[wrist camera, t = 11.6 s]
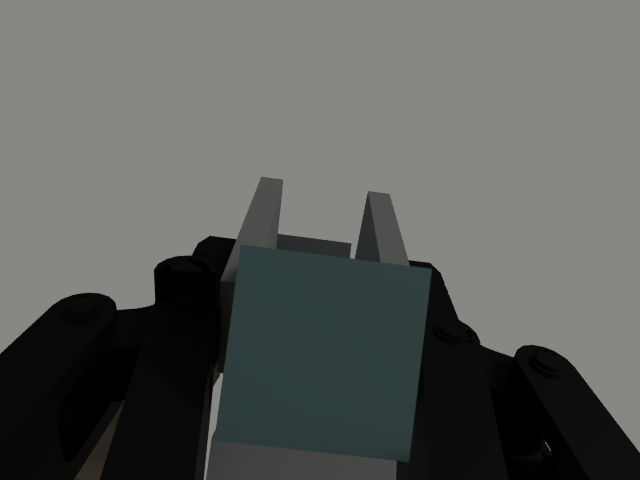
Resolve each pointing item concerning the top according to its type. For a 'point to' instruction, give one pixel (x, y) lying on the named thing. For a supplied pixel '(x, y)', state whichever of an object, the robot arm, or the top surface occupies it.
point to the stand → (291, 464)
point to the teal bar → (323, 351)
